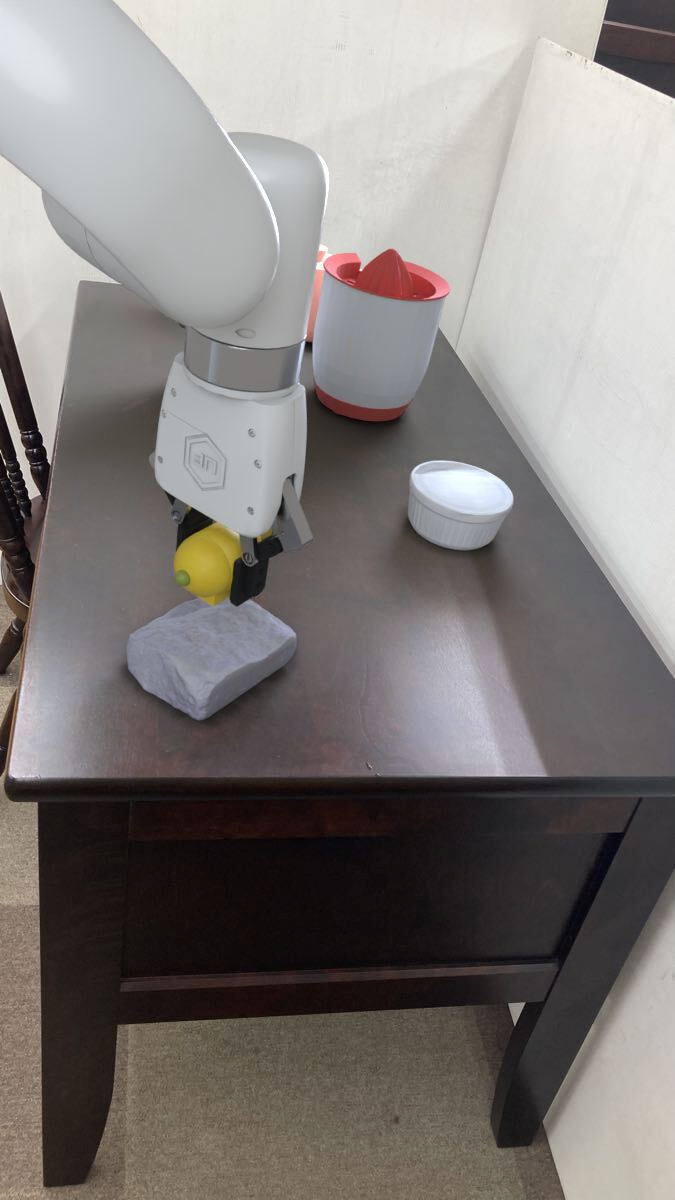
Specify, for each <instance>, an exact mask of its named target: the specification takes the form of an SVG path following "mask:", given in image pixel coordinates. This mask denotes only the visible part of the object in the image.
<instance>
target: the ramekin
mask: <svg viewBox="0 0 675 1200" xmlns="http://www.w3.org/2000/svg"><path fill="white" fill-rule="evenodd" d="M408 487H409V493H408V503H407V504H408V505H407V517H408V520H409V522H410V524H411V526H412V528H413V529H414V531H415V532H416V533H417V534H418V535H419V536H420V537H422V538H423V539H424V540H426V541H428V542H430V543H432V544H434V545H437V546H439V547H442V548H444V549H445V548H446V549H451V550H454V551H474V550H478V549H481V548H483V547H484V546H486V545H488V544H490V543H491V542H493V540H494V539H495V538H496V535H497V534H498V532H499V530H500V528H501V526H502V524H503V522H504V520H505V518H506V517H508V515H509V514H510V512H511V511H512V508H513V505H514V503H515V501H514V499H515V498H514V494H513V492H512V490H511V488H510V487H509V486H508V485H507V484H506V483H505V482H504V481H503V480H502V479H501V478H500V477H497V476H496V475H494V474H493V473H491V472H489V471H488V470H485V469H483V468H480V467H478V466H475V465H471V464H467V463H465V462H464V463H463V462H459V461H453V460H429V461H426V462H422V463H419V464H418V465H416V466H415V467H414V468H413V469H412V471H411V473H410V475H409V479H408Z"/></svg>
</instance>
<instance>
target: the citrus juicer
mask: <svg viewBox="0 0 675 1200" xmlns="http://www.w3.org/2000/svg"><path fill="white" fill-rule="evenodd" d="M331 255H332V256H330V257H328V258H326V260H325V261H324V263H323V268H324V269H325V270H324V276H323V282H322V288H321V294H320V299H319V305H318V311H317V317H316V323H315V329H314V338H313V342H312V370H313V384H314V387H315V392H316V396H317V398H318V400H319V401H320V402H321V404H323V405H324V406H325V407H327V408H328V409H329V410H331V411H332V412H333V413H334V414H336V415H340V416H344V417H348V418H351V419H356V420H359V421H360V420H361V421H365V422H386V421H393V420H395V419H398V418H399V417H401V416H402V415H403V413H404V412H405V411H406V410H407V409H408V407H409V406H410V404H411V403H412V402H413V399H414V398H415V395H416V393H417V391H418V390H419V388H420V386H421V384H422V382H423V380H424V379H425V378H424V377H425V375H426V374H427V370H428V368H429V363H430V361H431V358H432V353H433V349H434V345H435V341H436V338H437V334H438V330H439V326H440V322H441V317H442V315H443V311H444V306H445V303H446V298H447V296H449V294H450V292H451V287H450V284H449V283H448V281H447V280H446V279H445V278H443V277H442V276H440V275H439V273H436V272H434V271H432V270H430V269H428V268H426V267H424V266H422V265H418V264H416V263H413V262H410V261H405V260H403V258H402V257H401V255H400V254H399V252H398V250H397V249H395V248H393V247H392V248H387V249H386V250H384V251H383V252H381V253H379V254H378V255H377V256H376V257H374V258H373V259H372V260H370V261H369V262H368V263H367V264H366V265H365V266H364V267H363V268H362V269H363V270H362V271H360V269H361V266H362V261H361V259H360V257H359V256H358V254H357V252H342V253H336V254H331Z"/></svg>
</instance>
